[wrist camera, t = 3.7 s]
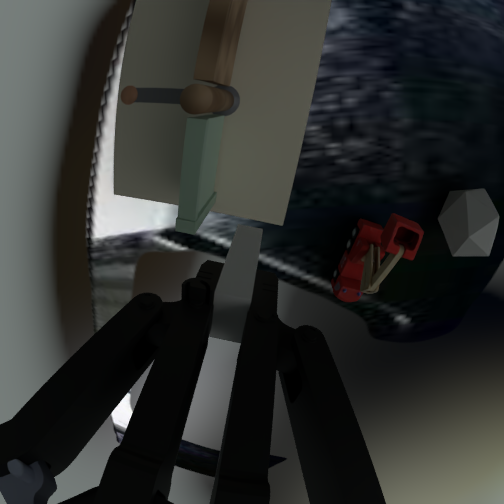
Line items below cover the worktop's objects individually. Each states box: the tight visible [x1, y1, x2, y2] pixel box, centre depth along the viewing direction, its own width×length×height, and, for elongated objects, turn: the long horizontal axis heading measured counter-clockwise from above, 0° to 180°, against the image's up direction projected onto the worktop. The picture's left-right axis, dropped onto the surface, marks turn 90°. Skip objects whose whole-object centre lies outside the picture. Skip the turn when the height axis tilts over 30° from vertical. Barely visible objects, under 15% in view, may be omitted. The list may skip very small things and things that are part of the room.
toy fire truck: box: [331, 213, 424, 302], centre depth 28 cm, size 3×14×10 cm, turn 166°
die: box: [438, 189, 499, 256], centre depth 25 cm, size 8×9×10 cm
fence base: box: [180, 0, 248, 115], centre depth 18 cm, size 16×2×10 cm, turn 170°
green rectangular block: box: [175, 114, 225, 235], centre depth 25 cm, size 10×2×8 cm, turn 170°
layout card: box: [114, 0, 331, 226], centre depth 25 cm, size 28×22×1 cm
